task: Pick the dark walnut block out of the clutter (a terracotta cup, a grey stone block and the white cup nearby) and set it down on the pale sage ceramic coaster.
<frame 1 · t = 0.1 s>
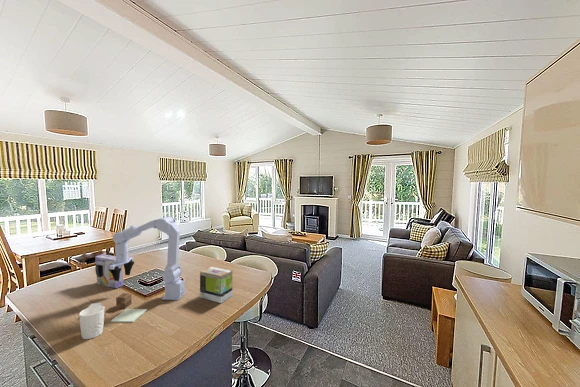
hand: (122, 277, 129), 10 cm above the worktop, fingers open, 7 cm apart
walnut block: (124, 306, 118), on the worktop
tea box: (216, 297, 130), on the worktop
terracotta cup: (99, 317, 109), on the worktop
coaster: (129, 315, 110), on the worktop
grey stone block: (94, 313, 112), on the worktop
cake pan box: (109, 285, 142), on the worktop
white cup: (92, 334, 96), on the worktop
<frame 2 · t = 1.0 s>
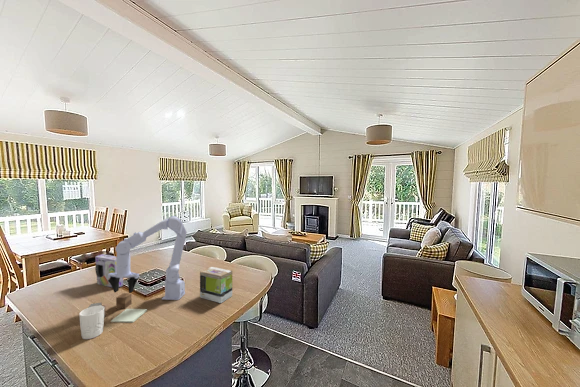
hand: (123, 291, 118), 7 cm above the worktop, fingers open, 7 cm apart
nothing on the worktop moved.
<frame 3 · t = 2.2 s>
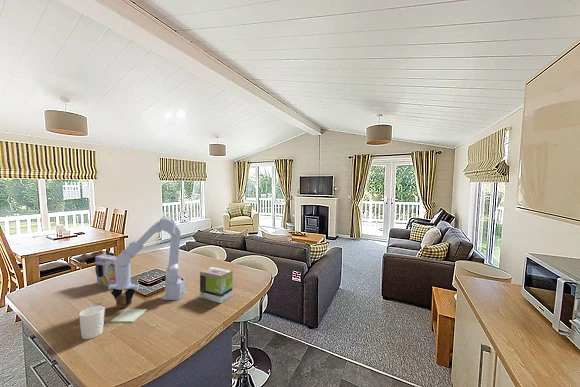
hand: (124, 303, 118), 1 cm above the worktop, fingers closed on walnut block, 4 cm apart
walnut block: (124, 305, 118), on the worktop, touching gripper
everything else where it was.
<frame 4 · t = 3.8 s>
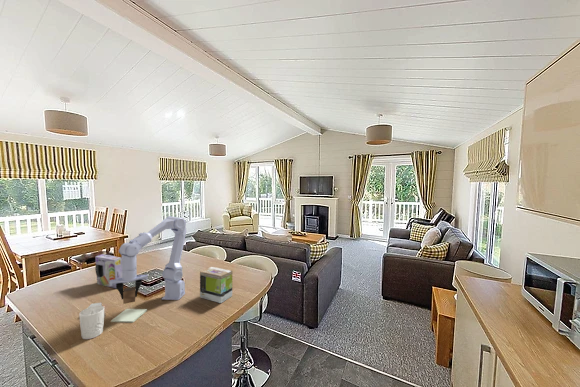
hand: (129, 297, 110), 9 cm above the worktop, fingers closed on walnut block, 4 cm apart
walnut block: (129, 300, 110), point 7 cm above the worktop, touching gripper
everything else where it was.
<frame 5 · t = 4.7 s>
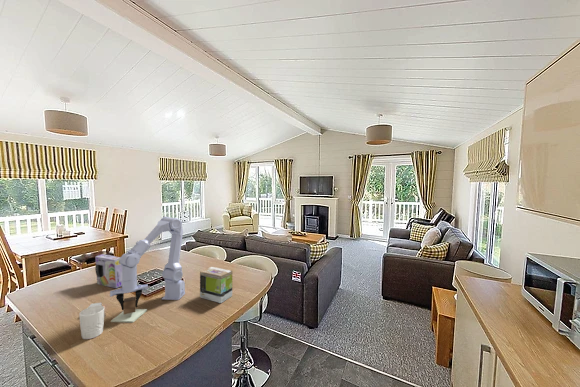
hand: (129, 307, 110), 4 cm above the worktop, fingers closed on walnut block, 4 cm apart
walnut block: (129, 310, 110), point 2 cm above the worktop, touching gripper
everything else where it was.
when the fingers open (3 cm above the worktop, at t = 5.4 s): walnut block stays where it is, resting on coaster.
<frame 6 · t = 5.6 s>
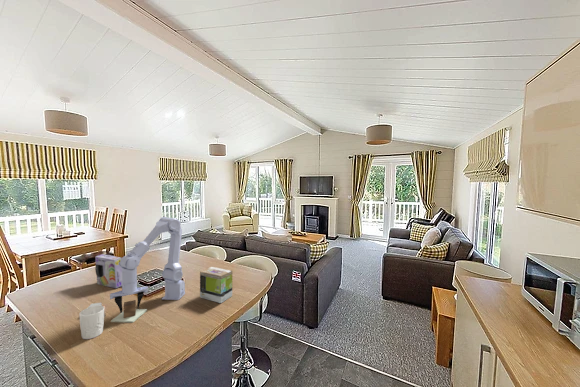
hand: (129, 309, 110), 3 cm above the worktop, fingers open, 6 cm apart
walnut block: (129, 314, 110), point 1 cm above the worktop, touching coaster
everything else where it was.
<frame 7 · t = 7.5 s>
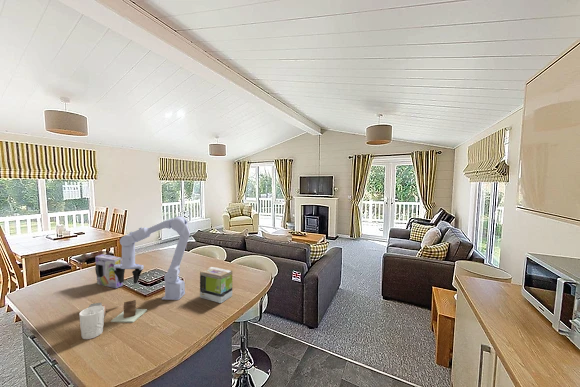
hand: (128, 282, 123), 10 cm above the worktop, fingers open, 7 cm apart
nothing on the worktop moved.
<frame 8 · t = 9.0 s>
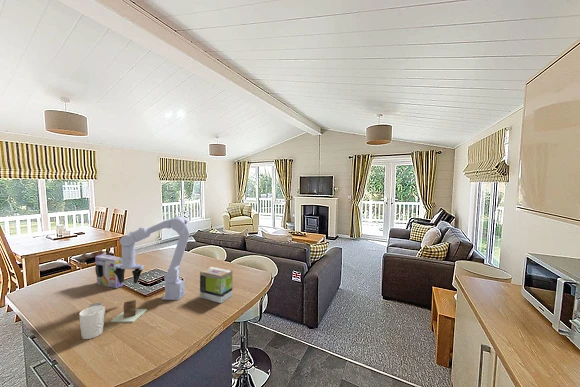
hand: (128, 282, 123), 10 cm above the worktop, fingers open, 7 cm apart
nothing on the worktop moved.
at the end: walnut block inside the target area on the coaster (0.1 cm from its centre), point 0.6 cm above the coaster's base; walnut block tilted 0°; the gripper is holding nothing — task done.
